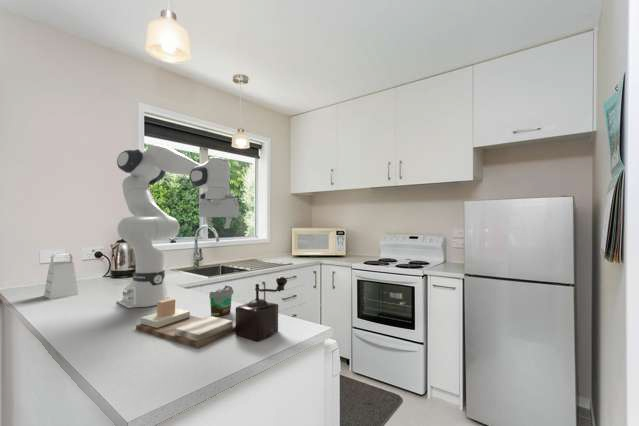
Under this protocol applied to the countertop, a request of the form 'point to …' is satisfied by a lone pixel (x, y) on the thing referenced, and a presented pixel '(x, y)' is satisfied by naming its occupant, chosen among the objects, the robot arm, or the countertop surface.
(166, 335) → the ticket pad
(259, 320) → the manual coffee grinder
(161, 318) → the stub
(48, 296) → the grater
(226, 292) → the food container
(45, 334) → the countertop surface
